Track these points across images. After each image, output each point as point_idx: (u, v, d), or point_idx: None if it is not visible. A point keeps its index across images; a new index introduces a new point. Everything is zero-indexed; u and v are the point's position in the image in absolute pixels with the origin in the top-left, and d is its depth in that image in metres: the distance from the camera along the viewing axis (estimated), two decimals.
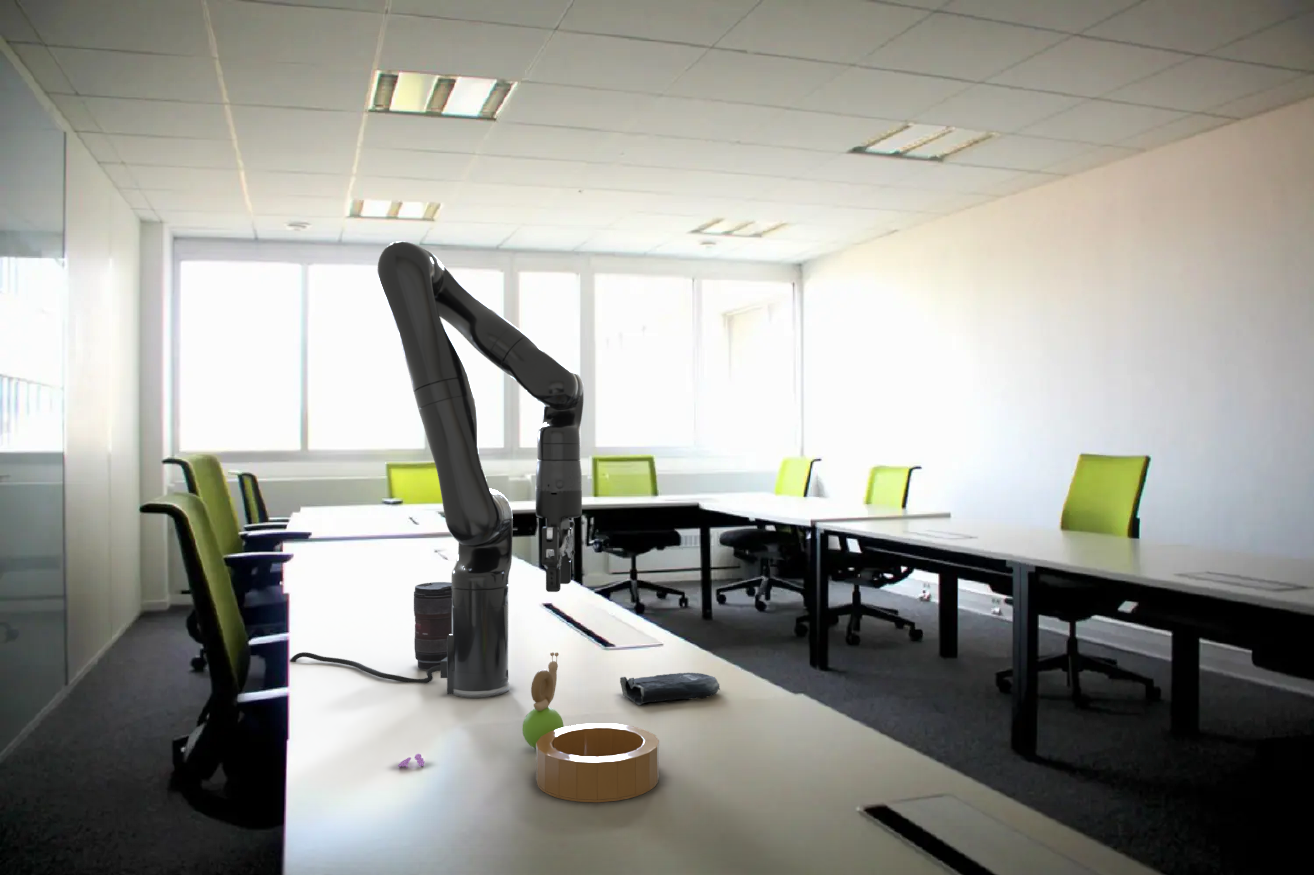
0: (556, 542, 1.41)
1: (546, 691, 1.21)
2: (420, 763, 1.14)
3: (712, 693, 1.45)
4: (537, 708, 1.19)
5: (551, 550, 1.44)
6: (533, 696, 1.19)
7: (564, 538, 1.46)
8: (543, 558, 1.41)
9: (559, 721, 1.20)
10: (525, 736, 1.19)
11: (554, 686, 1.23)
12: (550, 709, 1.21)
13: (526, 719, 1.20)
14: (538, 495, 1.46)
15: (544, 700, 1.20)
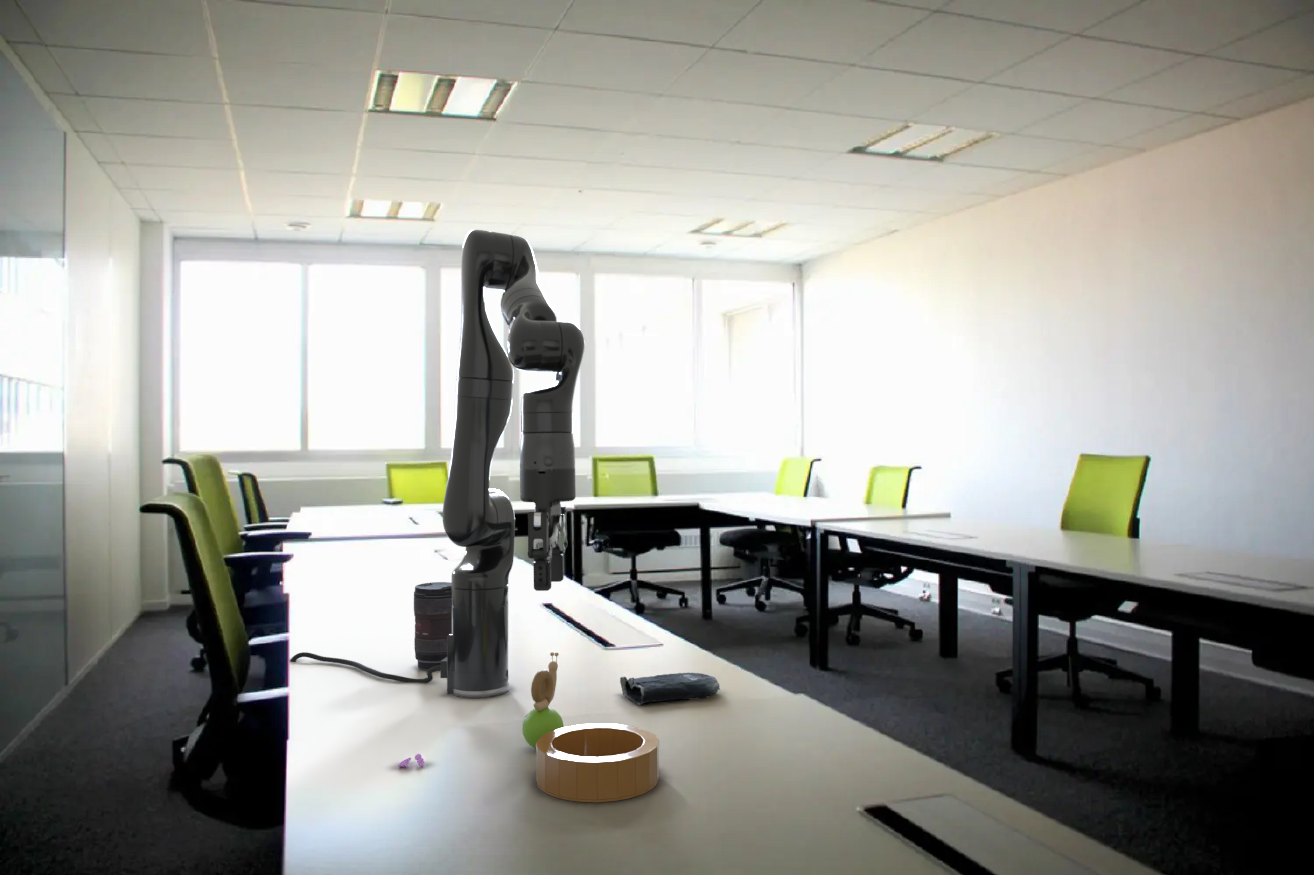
0: (545, 530, 1.17)
1: (546, 691, 1.21)
2: (420, 763, 1.14)
3: (712, 693, 1.45)
4: (537, 708, 1.19)
5: (539, 540, 1.20)
6: (533, 696, 1.19)
7: (555, 526, 1.21)
8: (530, 550, 1.17)
9: (559, 721, 1.20)
10: (525, 736, 1.19)
11: (554, 686, 1.23)
12: (550, 709, 1.21)
13: (526, 719, 1.20)
14: (523, 475, 1.22)
15: (544, 700, 1.20)
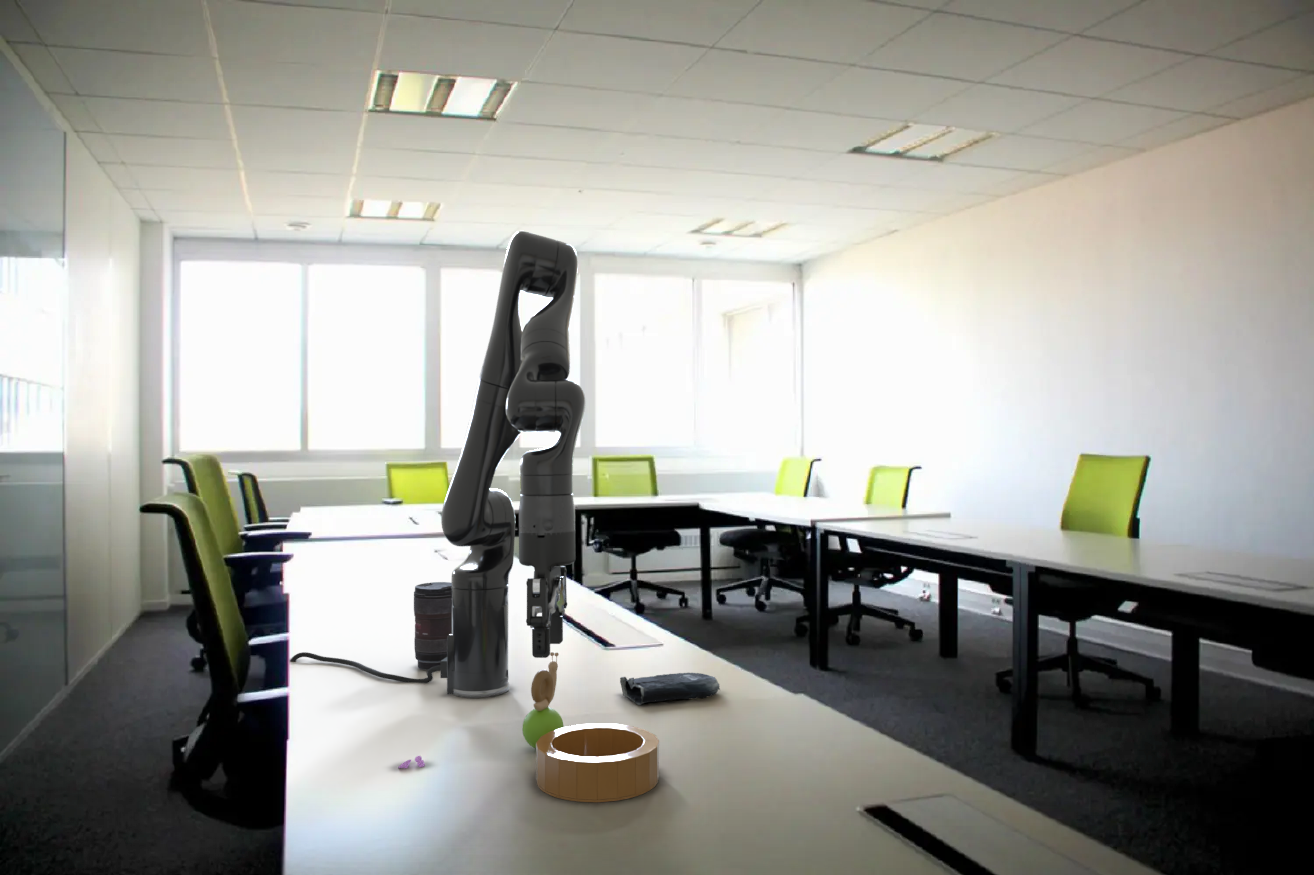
0: (544, 597, 1.15)
1: (546, 691, 1.21)
2: (420, 765, 1.14)
3: (712, 693, 1.45)
4: (537, 708, 1.19)
5: (538, 606, 1.18)
6: (533, 696, 1.19)
7: (554, 591, 1.19)
8: (528, 617, 1.15)
9: (559, 721, 1.20)
10: (525, 736, 1.19)
11: (554, 686, 1.23)
12: (550, 709, 1.21)
13: (526, 719, 1.20)
14: (522, 538, 1.20)
15: (544, 700, 1.20)
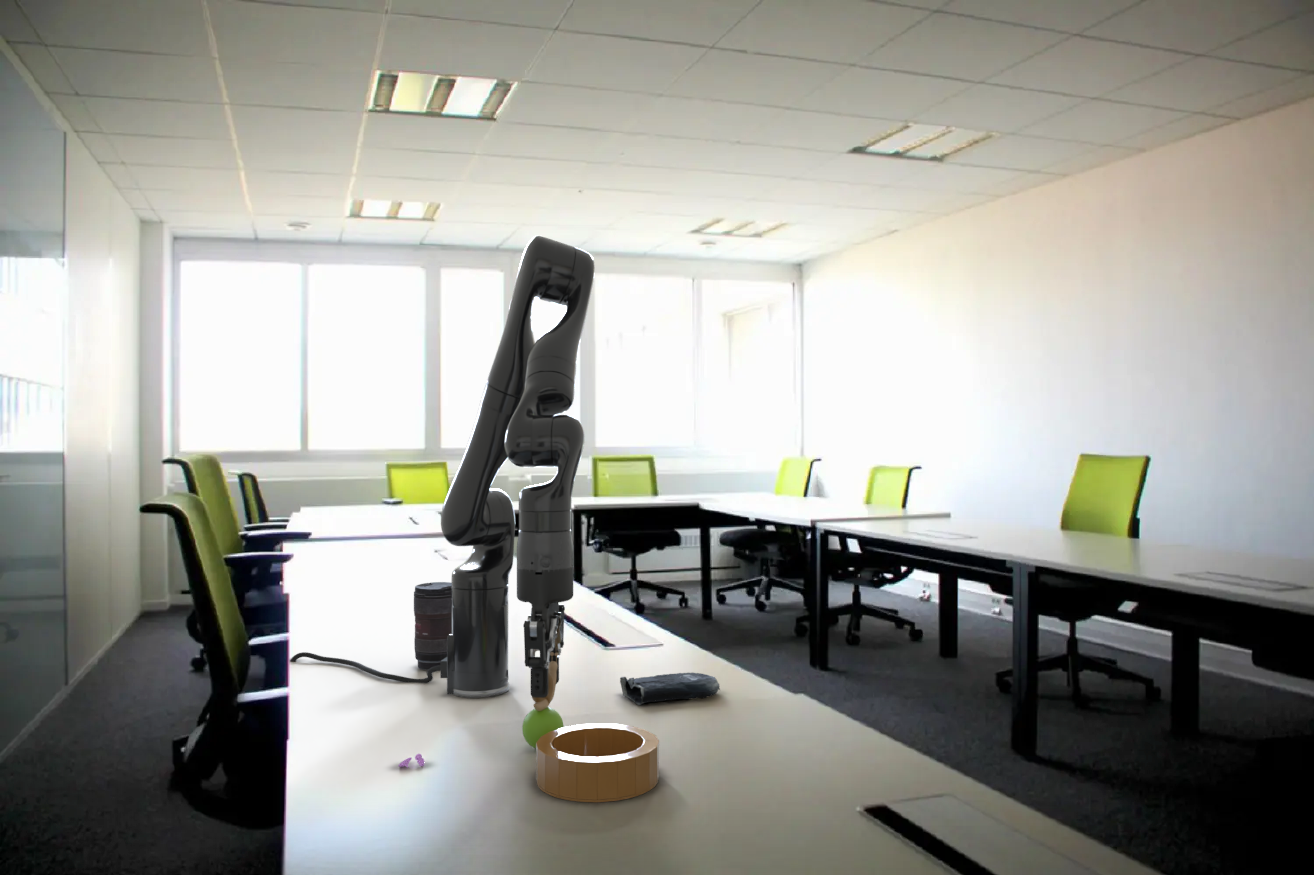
0: (542, 640, 1.15)
1: None
2: (420, 763, 1.14)
3: (712, 693, 1.45)
4: (537, 708, 1.19)
5: None
6: None
7: (552, 629, 1.19)
8: (527, 659, 1.15)
9: (559, 721, 1.20)
10: (525, 736, 1.19)
11: (554, 686, 1.23)
12: (550, 709, 1.20)
13: (526, 719, 1.20)
14: (519, 574, 1.19)
15: (544, 700, 1.20)
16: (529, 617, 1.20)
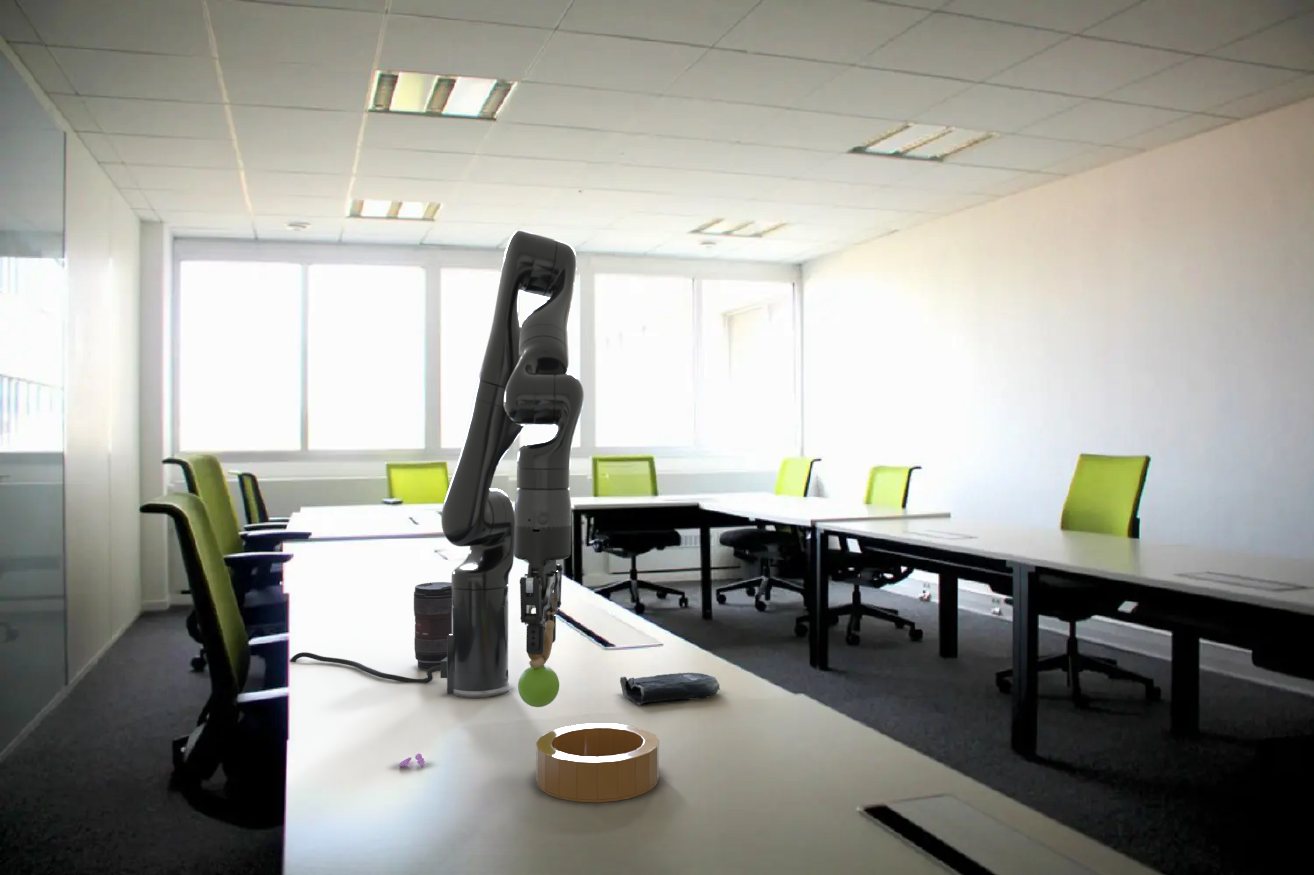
0: (538, 597, 1.15)
1: None
2: (421, 763, 1.14)
3: (712, 693, 1.45)
4: (533, 665, 1.19)
5: None
6: None
7: (548, 586, 1.19)
8: (522, 615, 1.15)
9: (555, 679, 1.20)
10: (520, 693, 1.19)
11: (550, 645, 1.23)
12: (546, 667, 1.21)
13: (522, 676, 1.20)
14: (517, 531, 1.19)
15: (540, 658, 1.20)
16: (526, 575, 1.20)
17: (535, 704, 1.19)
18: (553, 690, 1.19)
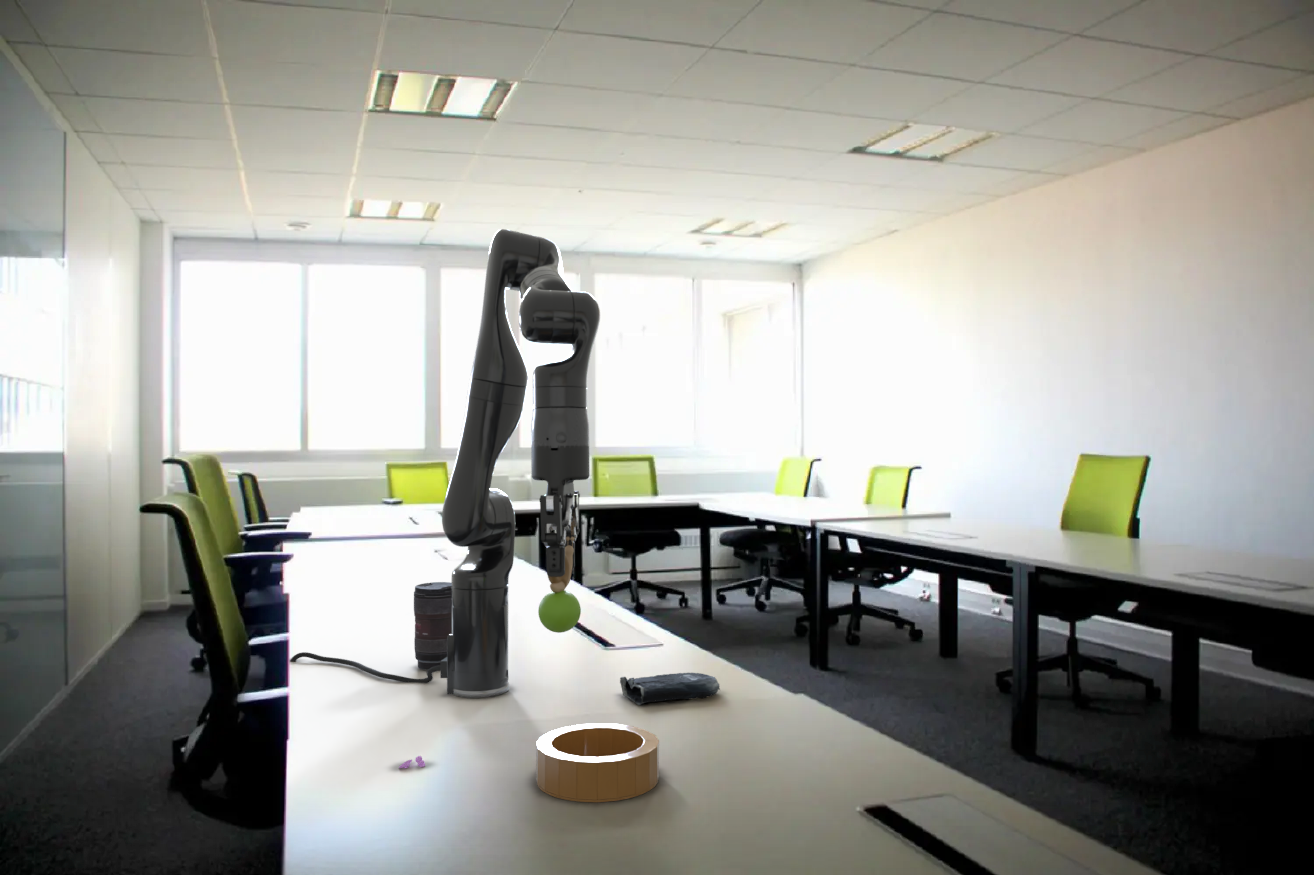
0: (558, 515, 1.12)
1: None
2: (421, 765, 1.14)
3: (712, 693, 1.45)
4: (553, 589, 1.15)
5: (552, 524, 1.15)
6: (549, 576, 1.15)
7: (568, 507, 1.16)
8: (543, 535, 1.12)
9: (576, 603, 1.16)
10: (541, 618, 1.16)
11: (570, 570, 1.20)
12: (567, 591, 1.17)
13: (542, 601, 1.16)
14: (534, 452, 1.16)
15: (560, 582, 1.17)
16: None
17: (556, 629, 1.15)
18: (575, 614, 1.16)
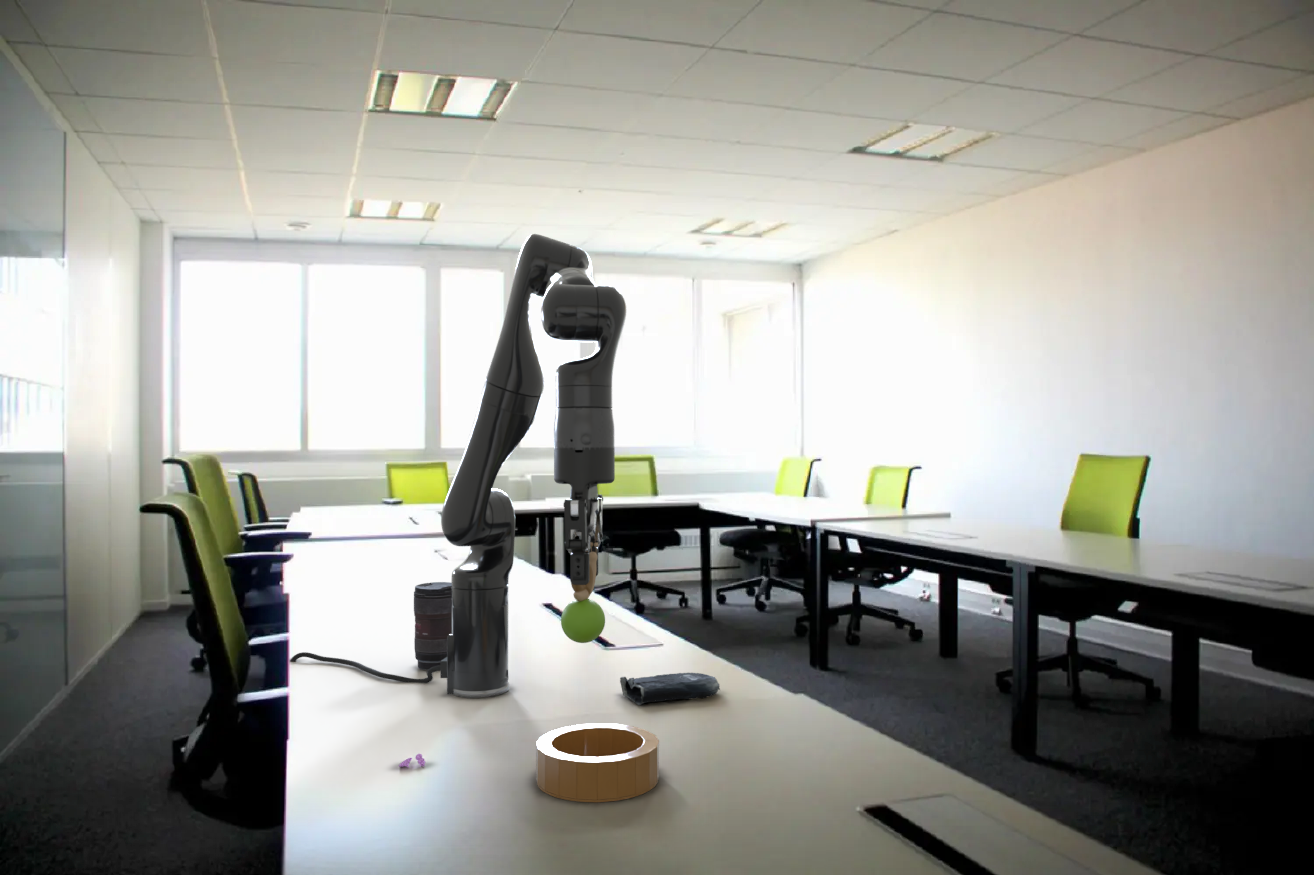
0: (583, 520, 1.06)
1: None
2: (421, 763, 1.14)
3: (712, 693, 1.45)
4: (577, 597, 1.10)
5: (576, 529, 1.10)
6: None
7: (593, 512, 1.10)
8: (567, 541, 1.07)
9: (601, 612, 1.11)
10: (564, 628, 1.11)
11: (594, 577, 1.14)
12: (591, 600, 1.12)
13: (565, 610, 1.11)
14: (558, 454, 1.11)
15: (584, 590, 1.12)
16: None
17: (580, 639, 1.10)
18: (600, 624, 1.11)
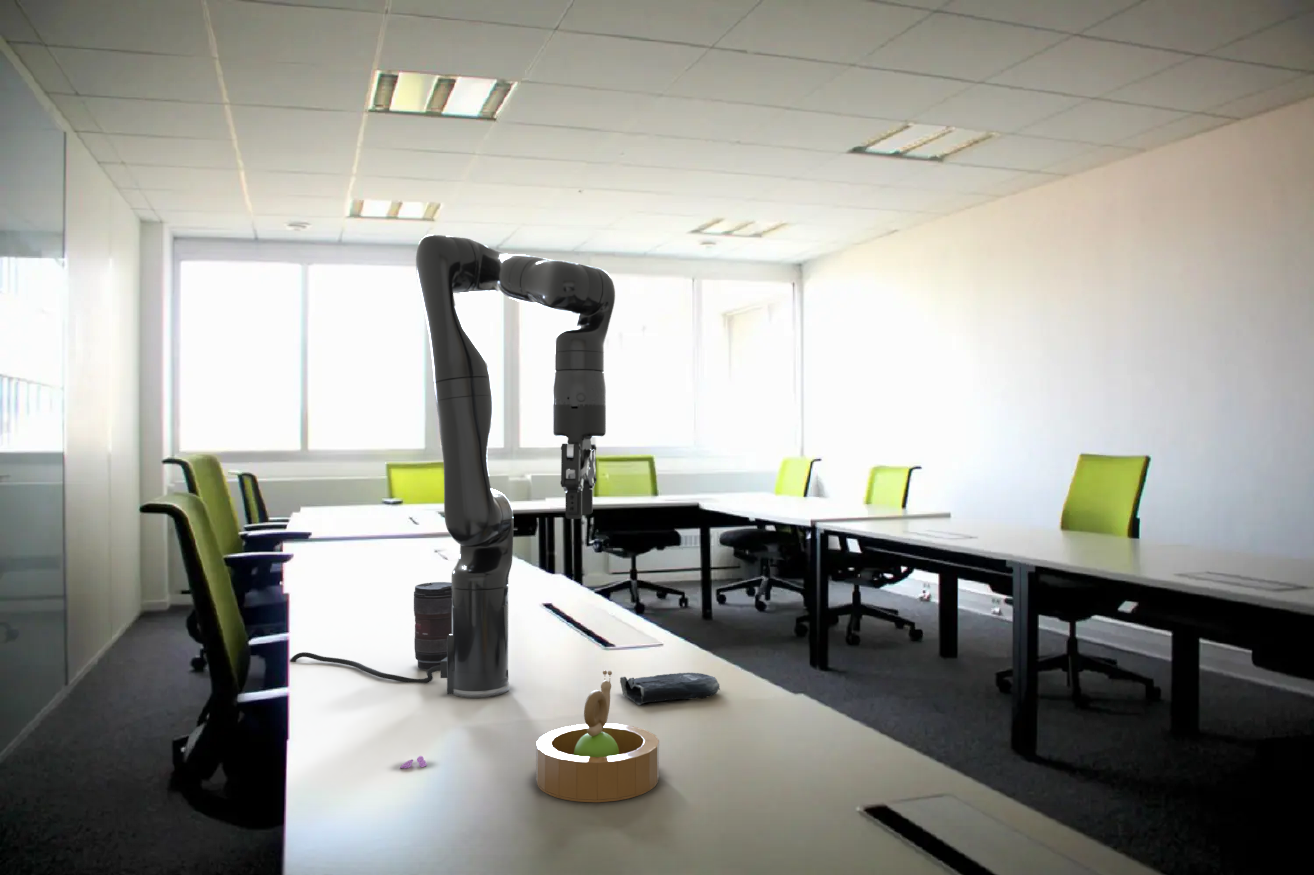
0: (577, 460, 1.24)
1: (600, 714, 1.09)
2: (422, 765, 1.14)
3: (712, 693, 1.45)
4: (591, 733, 1.07)
5: (571, 472, 1.27)
6: (586, 720, 1.07)
7: (586, 459, 1.28)
8: (563, 479, 1.23)
9: (615, 748, 1.08)
10: None
11: (608, 708, 1.11)
12: (604, 734, 1.09)
13: (578, 745, 1.08)
14: (556, 410, 1.28)
15: (598, 724, 1.09)
16: None
17: None
18: None
